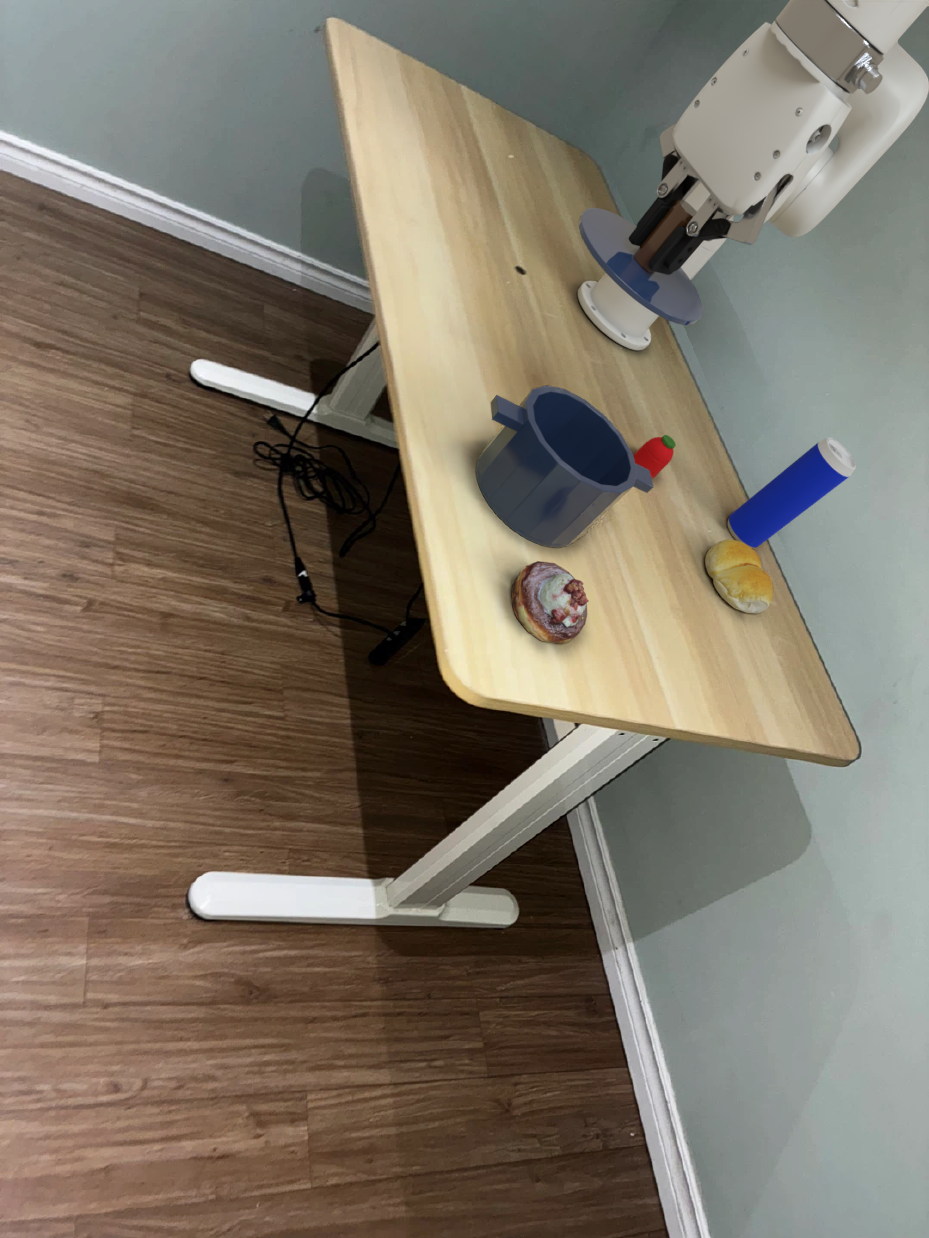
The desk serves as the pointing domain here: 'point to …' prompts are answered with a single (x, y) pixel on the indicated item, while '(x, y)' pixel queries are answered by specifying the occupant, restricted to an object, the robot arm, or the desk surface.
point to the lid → (643, 261)
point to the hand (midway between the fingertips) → (650, 256)
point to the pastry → (549, 602)
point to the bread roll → (739, 576)
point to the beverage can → (791, 492)
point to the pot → (555, 466)
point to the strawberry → (655, 454)
